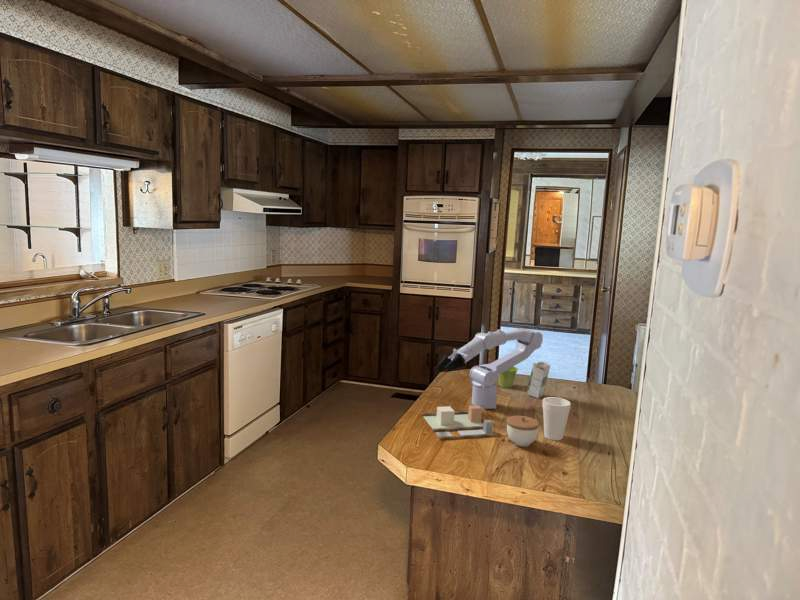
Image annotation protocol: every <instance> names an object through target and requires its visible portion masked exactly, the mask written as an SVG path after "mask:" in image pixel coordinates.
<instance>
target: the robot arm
mask: <svg viewBox="0 0 800 600" xmlns="http://www.w3.org/2000/svg"><path fill="white" fill-rule="evenodd" d="M543 337H544V336H543V334H542V333H541V332H539V331H534V330H530V329H527V328H526V327H524V328H523V327H522V328H517V329H515V330H510V331H507V332H505V331H504V330H502V329H496V331H487V332H486V333H484V332H476V334H475V336H474V338H472V339H471V340H470V341H469V342H467V344H464V345H463V346H462V347H459V348H458V349H457V348H453V349H452V351H453V353H451V354H450V355H449V356H448V355H447V354H444V355H443V357H442V359H441V361H440V362H439V363H438V364H437V365H436V366H435V370H436V372H437V373H441V372H444V371H445V370H446V372H447V373H448V372H452V371H454V370H458V369H460V368H466V366H467V365H466V364H467V362H469V361H470V360H473V358H474V357H476V356H477V355H479V354H481V353H482V352H484V351H485V350H492V349H493V348H494V347H498V346H502V345H506V343H507V342H509V341H516V342H515V349H514V350H512V351H511V352H509V353H507V354H505V355H504V356H501V357H500V358H498V359H496V360H494V361H493V362H490V363H485V364H484V363H483V364H480V365H474V366H473V367H471V369H470V371H469V379H470V380H471V384H472V389H471V392H472V393H471V404H472V406H475V405H479V406H480V407H481V408H482V409H483V410H489V409H492V410H493V409H497V400H498V399H497V398H498V389H497V386H496V385H495V383H496V382H497V381H499V374H501V373H502V372H504V371H506V370H508V369H509V368H511V367H513V366H514V367H516V365H518V364H520V363H521V362H523V361H526V360H527V359H528V358H529V357H531V355H532V354H533V353H534V352H535V351H536V350H537V349H539V348H541V347H542V343H543Z"/></svg>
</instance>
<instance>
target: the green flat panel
mask: <svg viewBox="0 0 800 600" xmlns="http://www.w3.org/2000/svg"><path fill="white" fill-rule="evenodd" d="M467 411H468V414H454V424H451V425H440V424H439V422H438V421H437V420H436V417H437V415H434V416H422V418H424V420H425V421H426V422H427V424H428V425H429V427H431V429H432V430H433V429H438V428H454V427H471V426H483V425H484V422H482V413H483V408H482V407H480V406H479V405H468V410H467Z"/></svg>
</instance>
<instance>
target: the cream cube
mask: <svg viewBox="0 0 800 600" xmlns="http://www.w3.org/2000/svg"><path fill="white" fill-rule="evenodd" d="M436 412H437V415H436V416H437V417H436V420H437V421H438V422H439V424H440V425H451V424H454V415H455V414H454V413H455V412H456V411H455V410H454V409H453V408H452V407H451V406H450V405H449V406H448V405H447V406H436Z"/></svg>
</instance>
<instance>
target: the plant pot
mask: <svg viewBox="0 0 800 600" xmlns="http://www.w3.org/2000/svg"><path fill="white" fill-rule="evenodd" d="M518 370H519V368H518V367H516V366H513V367H511V368H509V369H508V370H506V371H504V372H502V373H501V374H499V379H498V386H500V388H503V389H508V388H510V389H512V388H513V386H514V382H515V378H516V374H517V371H518Z"/></svg>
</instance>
